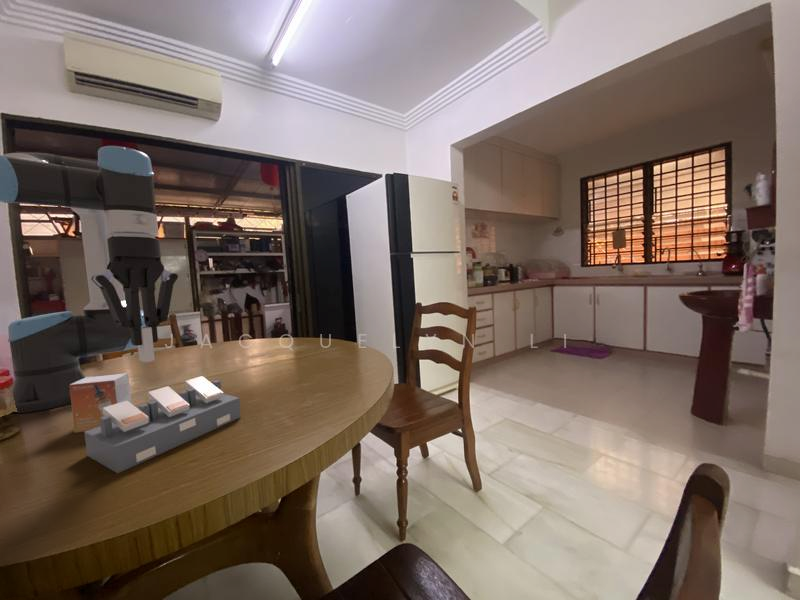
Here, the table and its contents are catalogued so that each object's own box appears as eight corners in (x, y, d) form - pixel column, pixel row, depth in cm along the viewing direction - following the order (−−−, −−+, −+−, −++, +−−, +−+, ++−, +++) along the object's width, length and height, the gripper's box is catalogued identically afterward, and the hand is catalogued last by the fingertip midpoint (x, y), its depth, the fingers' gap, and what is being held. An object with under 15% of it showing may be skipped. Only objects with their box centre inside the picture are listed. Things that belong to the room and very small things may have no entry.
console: (87, 455, 58) (81, 414, 57) (208, 408, 77) (205, 376, 76) (118, 473, 52) (112, 427, 51) (241, 417, 71) (238, 383, 70)
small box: (73, 434, 66) (67, 384, 65) (91, 422, 72) (85, 376, 71) (119, 427, 68) (114, 379, 67) (133, 416, 74) (128, 372, 73)
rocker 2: (147, 397, 64) (148, 391, 64) (167, 391, 67) (168, 385, 67) (169, 417, 61) (169, 411, 60) (189, 409, 64) (189, 403, 64)
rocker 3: (184, 385, 70) (185, 380, 70) (201, 380, 73) (202, 375, 73) (206, 403, 67) (206, 397, 67) (222, 397, 70) (223, 391, 70)
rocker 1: (103, 413, 58) (102, 407, 58) (127, 406, 61) (127, 399, 61) (124, 431, 55) (124, 424, 54) (148, 422, 58) (148, 416, 57)
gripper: (95, 232, 52) (112, 373, 54) (182, 238, 63) (193, 354, 66) (78, 235, 56) (94, 367, 58) (163, 240, 67) (174, 350, 69)
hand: (147, 360), depth 62 cm, fingers closed
